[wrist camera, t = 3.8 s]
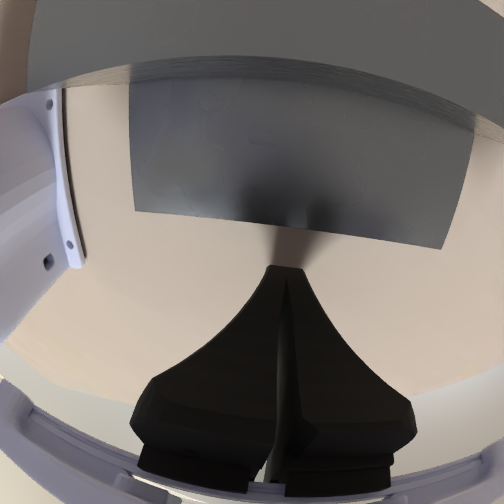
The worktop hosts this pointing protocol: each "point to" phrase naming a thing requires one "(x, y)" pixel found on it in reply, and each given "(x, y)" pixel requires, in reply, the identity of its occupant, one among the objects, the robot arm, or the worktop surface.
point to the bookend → (290, 104)
